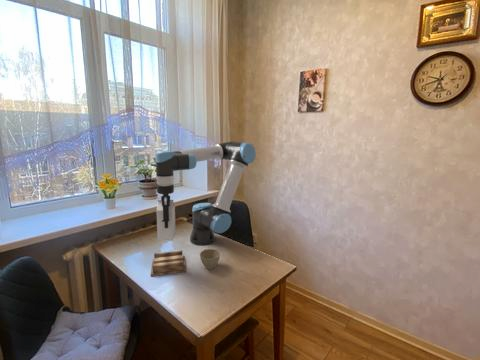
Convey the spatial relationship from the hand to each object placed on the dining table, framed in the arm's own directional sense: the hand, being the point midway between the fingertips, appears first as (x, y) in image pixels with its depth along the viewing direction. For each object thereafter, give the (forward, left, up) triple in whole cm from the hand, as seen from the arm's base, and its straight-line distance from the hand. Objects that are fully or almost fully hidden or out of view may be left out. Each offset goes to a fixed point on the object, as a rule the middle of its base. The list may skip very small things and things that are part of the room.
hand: (166, 230), depth 119 cm
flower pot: (-20, +5, -19) cm, 28 cm away
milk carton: (0, 0, -4) cm, 4 cm away
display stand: (0, 0, -19) cm, 19 cm away
